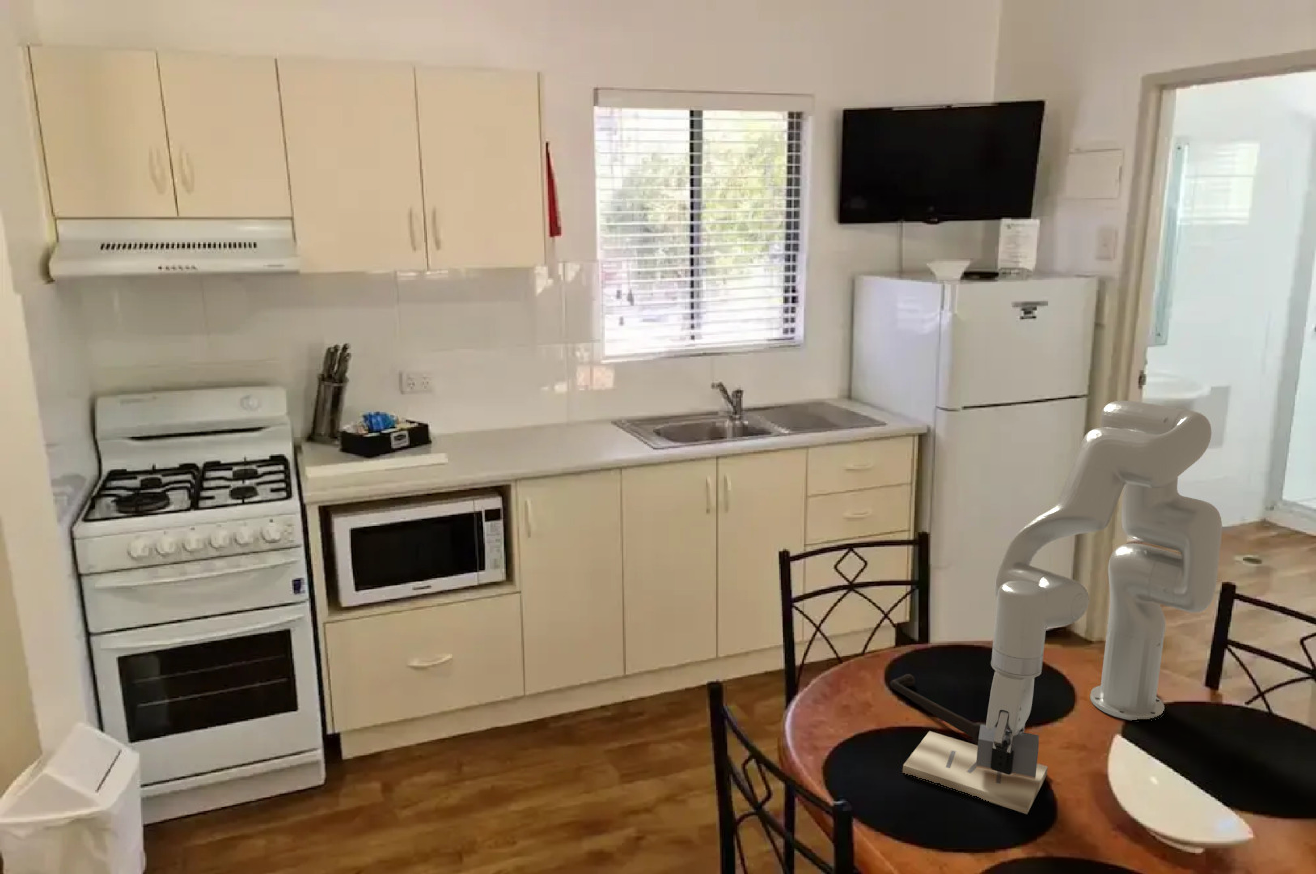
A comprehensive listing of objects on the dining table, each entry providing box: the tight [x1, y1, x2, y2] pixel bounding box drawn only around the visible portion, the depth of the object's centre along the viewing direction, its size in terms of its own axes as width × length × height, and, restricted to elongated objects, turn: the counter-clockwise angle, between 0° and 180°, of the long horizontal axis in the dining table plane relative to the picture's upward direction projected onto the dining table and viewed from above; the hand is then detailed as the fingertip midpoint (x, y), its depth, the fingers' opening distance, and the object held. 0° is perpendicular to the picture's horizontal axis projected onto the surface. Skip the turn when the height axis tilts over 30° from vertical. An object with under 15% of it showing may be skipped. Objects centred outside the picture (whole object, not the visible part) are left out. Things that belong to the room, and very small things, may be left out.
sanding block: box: [976, 724, 1040, 779], centre depth 157 cm, size 5×9×5 cm, turn 68°
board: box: [902, 730, 1049, 815], centre depth 161 cm, size 13×20×2 cm, turn 56°
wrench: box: [889, 673, 986, 746], centre depth 178 cm, size 5×5×30 cm
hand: (1006, 761), depth 158 cm, fingers closed on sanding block, 5 cm apart
